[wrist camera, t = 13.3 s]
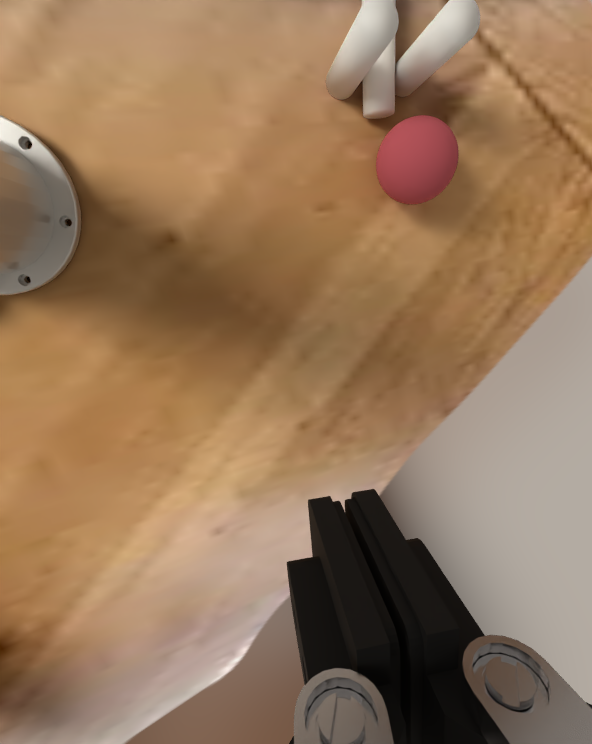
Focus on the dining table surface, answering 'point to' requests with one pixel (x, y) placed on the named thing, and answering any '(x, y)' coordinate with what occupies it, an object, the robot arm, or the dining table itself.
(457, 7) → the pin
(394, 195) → the ball
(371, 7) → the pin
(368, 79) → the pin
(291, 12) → the dining table surface
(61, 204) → the robot arm
